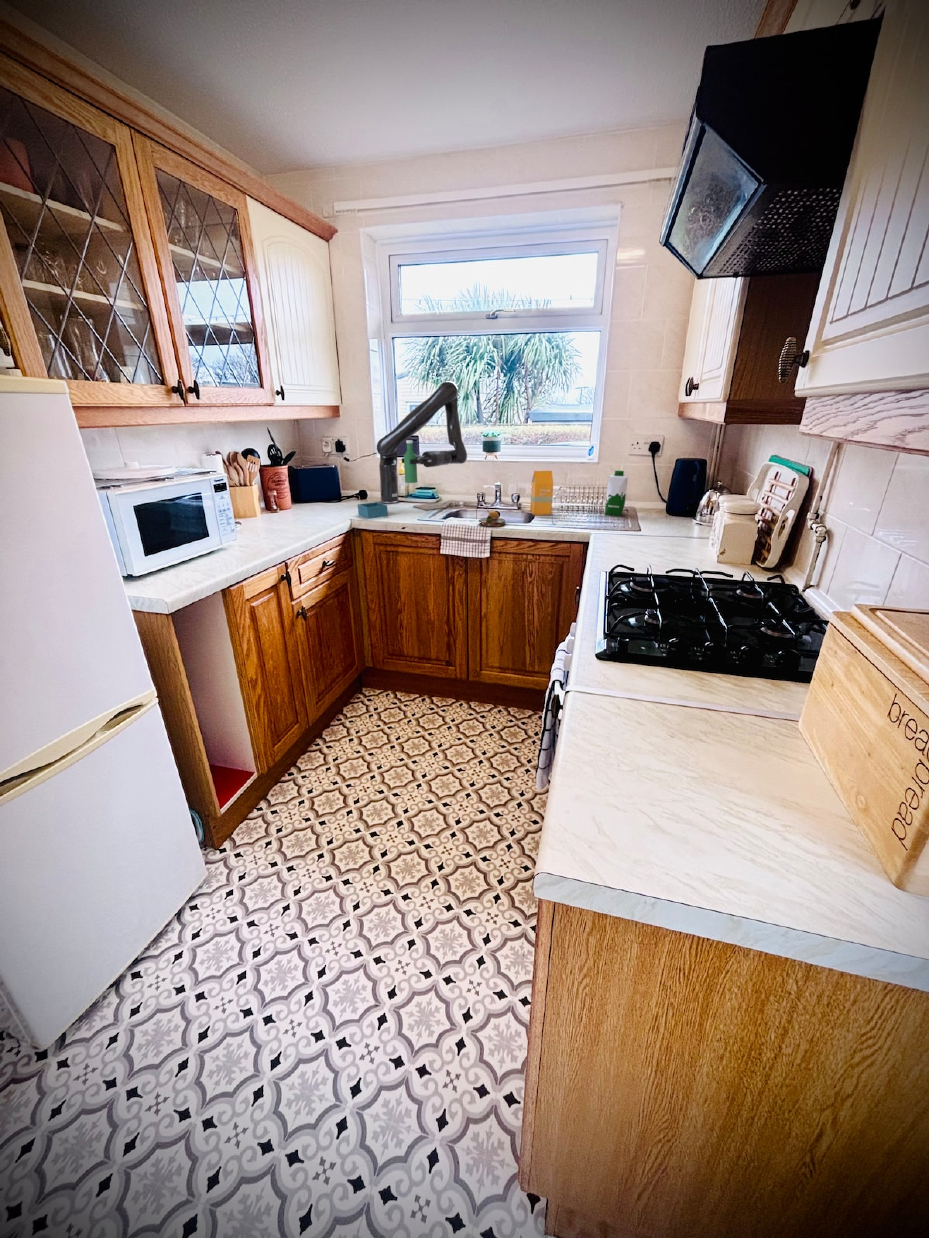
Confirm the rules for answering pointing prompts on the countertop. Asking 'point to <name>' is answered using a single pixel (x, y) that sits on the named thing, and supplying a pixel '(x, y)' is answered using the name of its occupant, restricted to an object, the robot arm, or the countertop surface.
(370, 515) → the blue open box
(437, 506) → the board
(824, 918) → the countertop surface
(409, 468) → the bottle
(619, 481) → the milk carton
